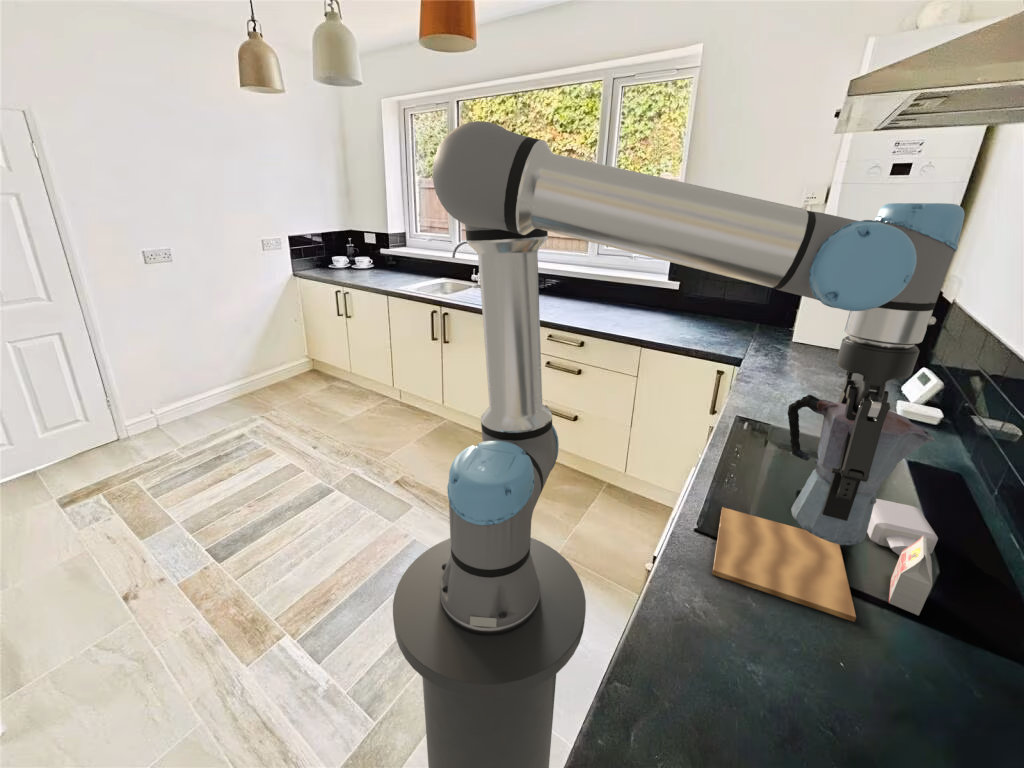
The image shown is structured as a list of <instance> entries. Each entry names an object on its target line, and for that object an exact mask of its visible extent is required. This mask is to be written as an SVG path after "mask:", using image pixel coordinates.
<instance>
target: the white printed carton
mask: <svg viewBox="0 0 1024 768" xmlns="http://www.w3.org/2000/svg"><path fill="white" fill-rule="evenodd" d="M930 556H931V554H929V551H928V548H927V543H926V537H924V535H923V536H922V537H921V538H920V539H919V540H918V541H916V542H915V543H914V544H912V545H910V546H909V547H907V548H906V549H904V550H902V552H901V555H899V558H898V559H897V563H896V565H895V568H894V570H893V572H892V574H891V577H890V583H889V594H888V604H890V605H892V606H895V607H896V608H897V607H898V608H899V609H902V610H904V611H906V612H909V613H911V614H914V615H916V616H917V617H918V616H920V614H921V611H922V610H923V608H924V605H925V603H926V601H927V598H928V596H929V594H930V593H931V589H932V587H933V564H932V563H933V561H932V557H931V558H930Z"/></svg>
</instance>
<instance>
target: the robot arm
mask: <svg viewBox="0 0 1024 768" xmlns="http://www.w3.org/2000/svg"><path fill="white" fill-rule="evenodd" d="M432 182H433V187H434V192H435V195H436V196H437V198H438V201H439V202H440V204H441V206H442V207H443V208H444V210H445V211H446V212H447V214H449V215H450V216H451V217H452V218H453V219H455V220H457V221H458V222H459V223H461V224H463V225H464V230H465V240H466V244H468V246H469V247H470V248H471V249H473V251H475V253H476V254H477V258H478V271H479V284H480V285H479V286H480V297H481V311H482V322H483V325H482V326H483V336H484V337H483V340H484V354H485V365H486V380H487V381H486V382H487V393H488V405H489V406H488V407H487V408H486V409H485V410H484V411H483V413H482V414H481V415H480V427H481V438H482V439H481V440H482V441H480V442H478V443H477V445H469V446H468V447H466V448H465V449H463V450H461V452H459V453H458V454H457V455H456V457H455V458H454V460H453V461H452V463H451V464H450V468H449V473H448V483H447V486H446V488H447V500H448V513H449V538H450V542H451V554H450V557H449V559H448V562H447V564H443V565H442V570H444V573H443V576H442V579H441V584H440V602H441V606H442V609H443V611H444V613H445V615H446V616H447V618H448V619H449V620H450V621H451V622H452V623H453V624H454V625H456V626H457V627H459V628H461V629H462V630H465V631H467V632H470V633H473V634H477V635H487V636H490V635H500V634H505V633H508V632H511V631H513V630H516V629H518V628H519V627H521V626H523V625H524V624H525V623H526V622H528V621H529V620H530V619H531V617H532V616H533V615H534V613H535V612H536V610H537V608H538V605H539V601H540V581H539V576H538V573H537V571H536V569H535V565H534V562H533V559H532V557H531V554H530V540H531V538H532V519H533V514H534V510H535V508H536V505H537V503H538V501H539V498H540V497H541V494H542V492H543V489H544V487H545V485H546V483H547V481H548V478H549V476H550V474H551V472H552V470H553V469H554V467H555V466H556V463H557V462H556V461H557V460H558V455H559V449H560V447H559V445H560V444H559V436H558V432H557V430H556V428H555V426H554V425H553V414H552V411H551V409H549V408H548V407H547V406H546V405H545V404H543V381H542V352H541V351H542V349H541V346H542V345H541V320H540V319H541V315H540V289H539V288H540V287H539V286H540V285H539V283H540V282H539V257H538V256H539V254H538V252H539V249H540V248H541V247H542V246H543V244H544V243H545V242H546V241H547V240H548V239H549V235H548V232H549V233H553V234H558V235H562V236H565V237H570V238H573V239H577V240H580V241H581V240H582V241H585V242H590V243H593V244H597V245H602V246H605V247H610V248H613V249H617V250H621V251H625V252H629V253H633V254H637V255H641V256H644V257H649V258H653V259H656V260H661V261H664V262H668V263H671V264H672V263H673V264H677V265H681V266H685V267H688V268H692V269H696V270H701V271H704V272H708V273H712V274H716V275H721V276H724V277H727V278H732V279H736V280H740V281H743V282H748V283H752V284H756V285H759V286H764V287H767V288H772V289H776V290H778V291H781V292H785V293H790V294H792V295H796V296H797V295H798V296H801V297H805V298H809V299H813V300H816V301H819V302H820V303H821V304H822V305H824V306H826V307H830V308H831V309H832V308H833V309H839V310H842V311H847V312H849V314H848V317H847V319H846V320H847V321H846V322H845V328H844V332H845V333H846V334H847V335H846V336H845V337H844V338H842V340H841V343H840V346H839V350H838V354H837V357H836V364H837V366H838V367H839V368H840V369H842V370H844V371H846V372H845V378H844V382H843V385H842V389H841V391H840V395H839V397H838V401H837V403H838V402H840V403H843V404H847V405H846V410H845V417H846V418H847V419H848V420H855V422H854V426H853V430H852V433H851V435H850V433H849V431H848V433H847V436H846V439H845V442H844V445H843V448H842V453H841V458H840V463H839V467H838V468H837V469H836V468H831V473H834V474H833V477H832V481H831V484H830V487H829V490H828V494H827V497H826V500H825V503H824V506H823V510H822V515H826V516H830V517H834V518H837V519H841V520H845V521H847V520H848V517H849V514H850V511H851V508H852V505H853V502H854V499H855V496H856V493H857V490H858V487H859V484H860V481H864V482H867V481H868V479H869V473H870V469H871V466H872V462H873V459H874V455H875V451H876V448H877V444H878V441H879V437H880V434H881V430H882V427H883V423H884V420H885V418H886V416H887V413H888V411H891V404H890V402H888V399H889V390H886V386H887V383H888V382H889V381H892V380H897V381H898V380H904V379H907V378H910V377H911V376H912V374H913V373H914V368H915V366H916V363H917V360H918V358H919V354H920V352H921V350H920V349H919V347H918V346H917V345H918V344H920V343H922V342H923V340H924V338H925V335H926V332H927V328H928V326H932V325H935V324H936V322H937V319H936V317H935V316H932V315H933V312H934V309H935V306H936V303H937V301H938V299H939V295H940V293H941V290H942V287H943V284H944V282H945V279H946V276H947V273H948V270H949V268H950V265H951V262H952V261H953V258H954V255H955V252H957V251H958V248H959V247H958V246H959V245H958V244H959V241H960V237H961V234H962V230H963V225H964V221H965V215H966V214H965V210H964V208H963V207H962V206H960V205H959V204H956V203H945V202H943V203H942V202H928V203H927V202H926V203H925V202H917V203H916V202H906V203H905V202H894V203H886V204H884V205H882V206H881V207H880V208H879V210H878V213H877V215H876V216H875V217H874V220H873V219H872V220H871V219H862V220H857V219H851V218H847V217H842V216H838V215H833V214H829V213H824V212H819V211H812V210H807V209H806V208H802V207H797V206H793V205H789V204H784V203H779V202H776V201H775V202H774V201H770V200H766V199H762V198H756V197H752V196H748V195H743V194H739V193H734V192H730V191H726V190H720V189H716V188H710V187H706V186H703V185H697V184H693V183H688V182H683V181H679V180H675V179H671V178H665V177H661V176H657V175H653V174H648V173H643V172H638V171H634V170H629V169H625V168H621V167H616V166H611V165H607V164H603V163H597V162H592V161H588V160H584V159H579V158H576V157H575V158H574V157H570V156H566V155H562V154H557V153H554V152H553V151H552V150H551V148H550V146H549V145H548V142H547V141H546V140H545V139H544V140H543V139H539V138H535V137H530V136H527V135H524V134H523V135H522V134H519V133H517V132H513V131H512V130H508V129H506V128H505V127H503V126H502V125H499V124H497V123H493V122H491V121H482V120H481V121H480V120H476V121H475V120H474V121H469V122H466V123H463V124H461V125H458V126H457V127H456V128H454V129H453V130H452V131H450V132H449V133H448V134H446V136H445V137H444V139H443V140H442V141H441V143H440V144H439V146H438V148H437V150H436V153H435V156H434V158H433V163H432ZM852 412H854V413H856V414H857V415H854V414H853V413H852Z"/></svg>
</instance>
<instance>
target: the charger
mask: <svg viewBox="0 0 1024 768" xmlns="http://www.w3.org/2000/svg"><path fill="white" fill-rule="evenodd" d="M867 535H868V537H869V539H870V541H871V542H872V543H874V544H877V545H880V546H882V547H886V548H890V549H891V550H892V552H894V553H895V554H897V555H898V556H900V555H901V552H902V550H904V549H906V548H907V547H909V546H910V545H912V544H914V543H915V542H916V541H918V540H919V539H920V538H921V537H922V536H923V535H924V537H926V543H927V548H928V551H929V554H930V558H931V559H932V556H931V554H932V553H933V552H934V550H935V547H936V545H937V542H938V540H939V537H938V536H937V534H936V532H935V530H934V529H933V528H932V526H931V525H930V523H929V522H928V520H927V519H926V517H925V515H924V514H923V513H922V511H921V510H920V508H918V507H916V506H913V505H909V504H904V503H899V502H894V501H890V500H884V499H882V498H881V499H880V498H876V503H875V504H874V506H873V510H872V514H871V519H870V522H869V526H868V530H867Z"/></svg>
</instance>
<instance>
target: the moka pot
mask: <svg viewBox="0 0 1024 768" xmlns="http://www.w3.org/2000/svg"><path fill="white" fill-rule="evenodd" d="M846 405H847V404H843V403H840V402H838V401H837V402H833V401H831V400H828V399H821V398H818V397H816V396H814V395H812V394H807V395H805V396H803V397H802V398H801V399H796V401H794V402H793V403H790V404H789V406H788V408H787V409H788V410H787V418H788V426H789V427H788V428H789V436H790V440H789V442H790V444H791V445H790V449H791V451H790V452H791V454H792V455H793V456H794V457H797V458H799V459H801V460H803V461H806V462H808V461H809V460H810V459H811V458H812V456H811V454H809V453H808V452H807V453H806V452H804V451H802V450H801V443H800V440H799V439H800V432H801V430H800V415H799V410H801V409H803V408H808V409H810V410H811V411H812V412H813V413H816V414H818V415H822V416H823V419H822V427H821V432H820V436H819V441H818V447H817V451H816V454H817V458H816V459H815V463H814V464H815V469H813V470H812V472H811V474H810V476H809V477H808V478H807V480H806V482H805V484H804V486H803V487H802V489H801V491H800V492H799V494H798V496H797V497H796V499H795V501H794V502H793V504H792V506H791V508H790V512H791V515H792V517H793V518H794V520H795V522H796V523H797V524H798V525H799V526H800V527H801V528H802V529H804V530H807V531H808V532H810V533H811V534H813V535H815V536H817V537H819V538H822V539H824V540H827V541H829V542H832V543H836V544H839V545H840V546H841V545H842V546H855V545H859V544H860V543H862V542H863V541H864V540H865V539H866V537H867V535H868V533H867V530H868V526H869V522H870V519H871V514H872V510H873V506H874V504H875V503H876V499H877V494H878V490H879V489H880V488H881V487H880V486H881V485H882V483H883V481H885V480H887V479H888V478H890V476H891V475H892V473H893V472H894V471H895V469H896V467H897V465H898V464H899V463H900V462H902V461H903V460H904V459H906V458H908V457H909V456H910V455H912V454H913V453H914V452H916V451H917V450H919V449H921V447H923V446H925V445H926V444H927V443H930V442H935V437H934V436H933V435H932V433H930V432H929V431H928V430H927V429H925V428H923V427H921V426H919V425H917V424H915V423H912V422H911V420H909V419H908V418H907V417H906V416H904V415H901V414H899V413H896V412H893V411H891V410H889V411H888V413H887V416H886V418H885V420H884V423H883V427H882V430H881V434H880V437H879V441H878V444H877V448H876V451H875V455H874V459H873V462H872V466H871V469H870V473H869V479H868V481H867V482H864V481H860V484H859V487H858V490H857V493H856V496H855V499H854V502H853V505H852V508H851V511H850V514H849V517H848V520H847V521H845V520H841V519H837V518H834V517H830V516H826V515H822V510H823V506H824V503H825V500H826V497H827V494H828V490H829V487H830V484H831V481H832V477H833V474H834V473H831V468H836V469H837V468H838V467H839V463H840V458H841V453H842V448H843V445H844V442H845V439H846V436H847V433H848V431H849V433H850V435H851V433H852V430H853V426H854V422H855V420H848V419H847V418H846V417H845V410H846ZM852 413H853V414H854V415H857V414H856V413H854V412H852Z"/></svg>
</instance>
